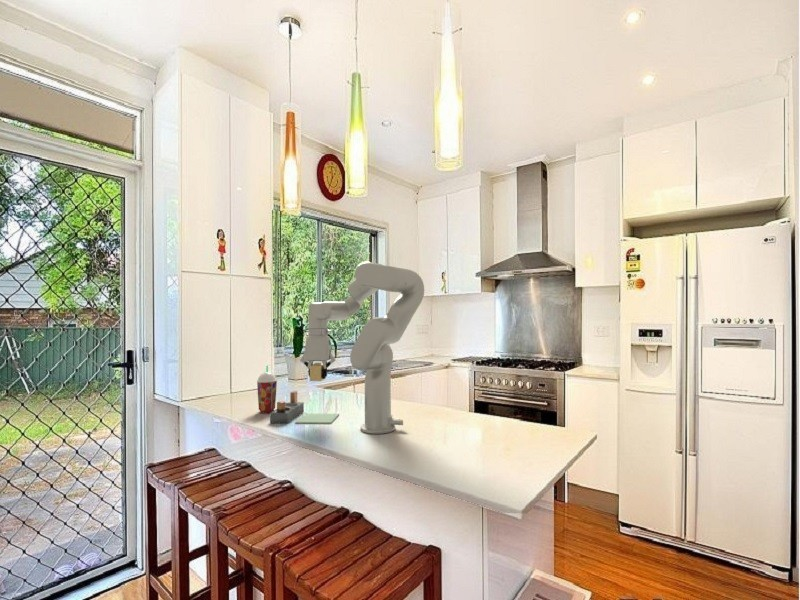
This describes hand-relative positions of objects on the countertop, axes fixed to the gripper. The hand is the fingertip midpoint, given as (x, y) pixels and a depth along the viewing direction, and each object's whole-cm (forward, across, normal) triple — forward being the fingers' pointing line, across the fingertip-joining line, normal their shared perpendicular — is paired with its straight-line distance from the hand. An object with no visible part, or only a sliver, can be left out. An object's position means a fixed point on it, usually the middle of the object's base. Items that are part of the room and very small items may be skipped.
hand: (317, 377), depth 163 cm
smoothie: (+17, +26, -12) cm, 33 cm away
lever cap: (+1, 0, 0) cm, 1 cm away
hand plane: (+17, +13, -3) cm, 22 cm away
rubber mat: (+17, 0, 0) cm, 17 cm away
